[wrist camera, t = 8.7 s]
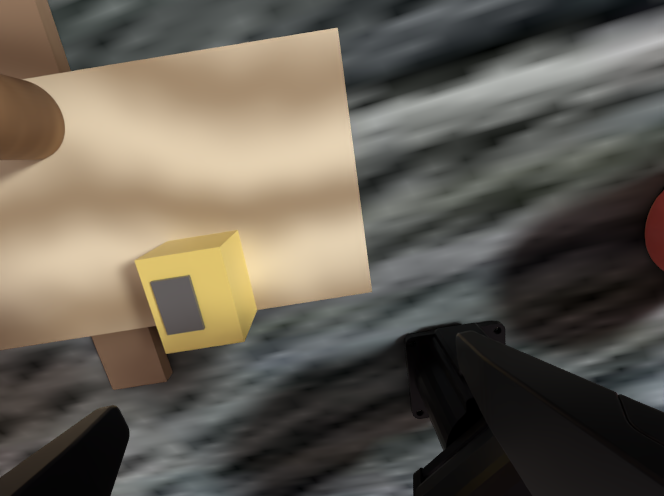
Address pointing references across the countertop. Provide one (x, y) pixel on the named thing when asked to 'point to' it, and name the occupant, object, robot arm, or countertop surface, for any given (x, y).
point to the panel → (174, 184)
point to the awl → (28, 121)
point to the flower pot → (656, 231)
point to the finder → (198, 291)
